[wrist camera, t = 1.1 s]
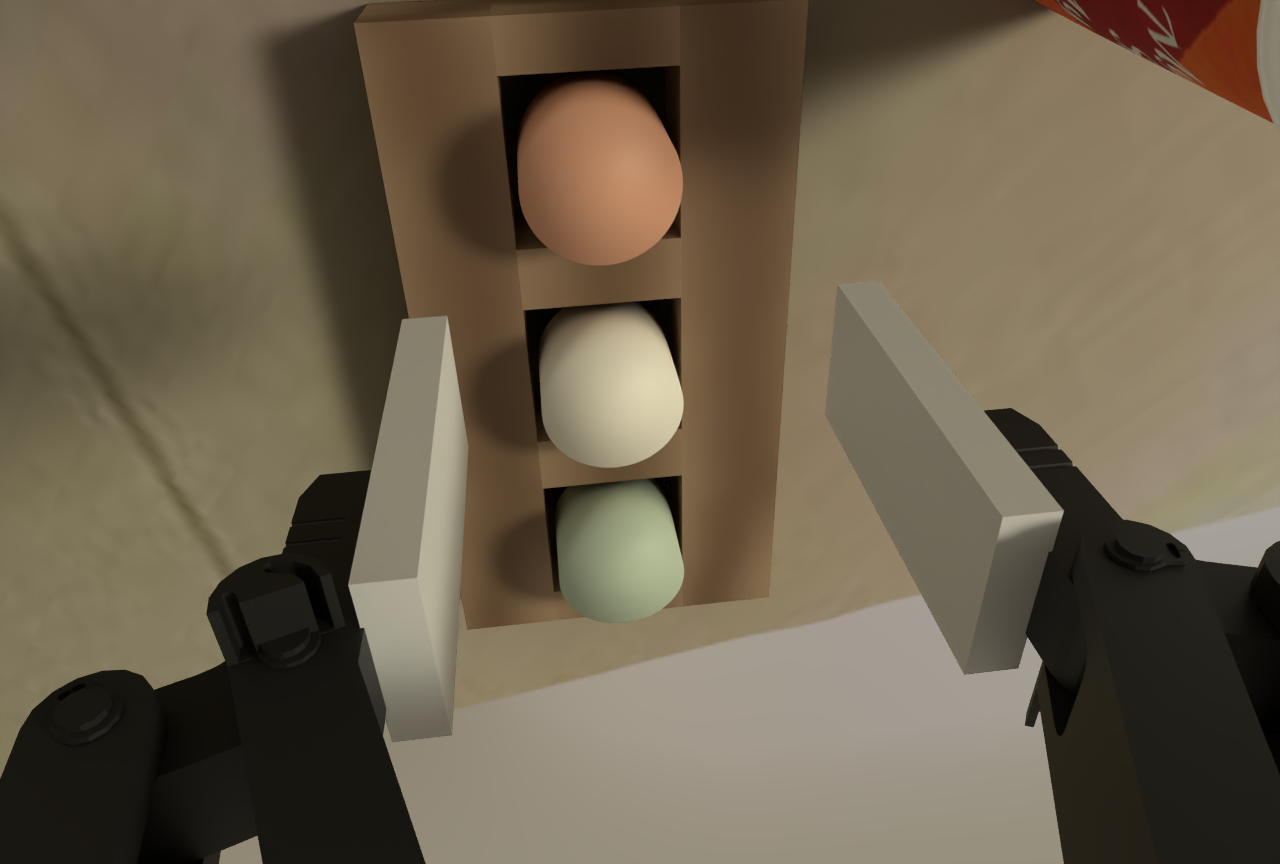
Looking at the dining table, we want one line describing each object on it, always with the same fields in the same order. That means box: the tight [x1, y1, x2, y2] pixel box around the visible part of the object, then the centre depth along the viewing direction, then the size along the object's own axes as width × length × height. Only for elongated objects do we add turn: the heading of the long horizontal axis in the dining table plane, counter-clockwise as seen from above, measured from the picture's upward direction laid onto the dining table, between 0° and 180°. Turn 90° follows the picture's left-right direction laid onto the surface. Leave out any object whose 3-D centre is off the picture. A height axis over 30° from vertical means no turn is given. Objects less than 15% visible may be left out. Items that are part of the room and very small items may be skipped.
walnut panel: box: [354, 0, 809, 630], centre depth 32 cm, size 12×22×3 cm, turn 2°
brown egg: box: [517, 71, 683, 265], centre depth 26 cm, size 4×4×4 cm
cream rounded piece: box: [538, 301, 684, 468], centre depth 30 cm, size 4×4×4 cm
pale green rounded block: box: [555, 478, 684, 623], centre depth 34 cm, size 4×4×4 cm
